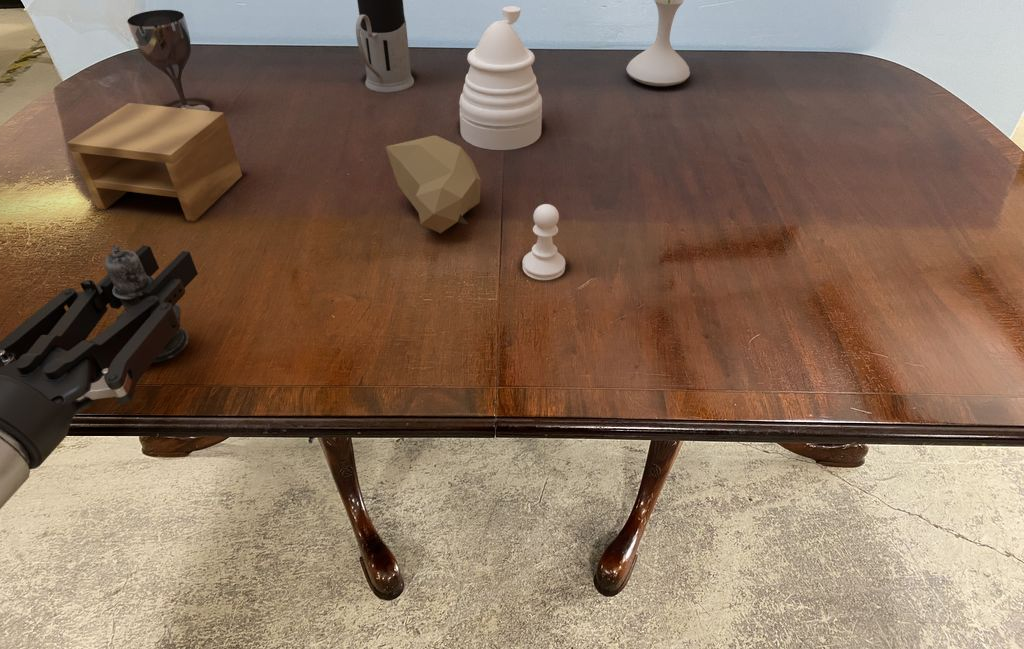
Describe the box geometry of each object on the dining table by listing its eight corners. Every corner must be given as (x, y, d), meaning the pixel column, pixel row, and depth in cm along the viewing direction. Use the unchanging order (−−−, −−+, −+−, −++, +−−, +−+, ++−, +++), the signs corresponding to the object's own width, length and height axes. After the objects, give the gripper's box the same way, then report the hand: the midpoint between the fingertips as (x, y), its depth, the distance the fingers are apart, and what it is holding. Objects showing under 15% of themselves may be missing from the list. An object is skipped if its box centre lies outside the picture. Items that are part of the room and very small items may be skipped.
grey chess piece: (135, 373, 64) (82, 273, 56) (123, 337, 67) (72, 239, 59) (198, 350, 66) (156, 251, 58) (183, 317, 70) (142, 219, 62)
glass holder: (421, 75, 123) (413, -13, 113) (392, 107, 112) (380, 13, 102) (376, 71, 124) (365, -17, 114) (344, 101, 114) (328, 8, 104)
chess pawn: (537, 254, 81) (540, 189, 75) (572, 269, 79) (578, 203, 73) (513, 275, 78) (514, 209, 72) (549, 291, 76) (553, 224, 70)
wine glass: (173, 102, 113) (141, 9, 103) (220, 103, 113) (192, 10, 103) (153, 123, 107) (117, 26, 97) (201, 124, 107) (170, 27, 97)
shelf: (99, 213, 87) (66, 142, 81) (154, 169, 96) (128, 102, 89) (196, 226, 85) (170, 154, 79) (243, 180, 94) (223, 112, 87)
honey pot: (509, 107, 113) (510, -8, 101) (557, 135, 105) (564, 14, 93) (445, 127, 107) (437, 8, 95) (491, 158, 99) (489, 32, 87)
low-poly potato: (418, 186, 94) (353, 179, 84) (456, 120, 89) (392, 105, 79) (480, 257, 88) (418, 258, 79) (525, 192, 83) (464, 184, 74)
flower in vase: (636, 64, 128) (656, -87, 111) (695, 74, 124) (724, -80, 107) (613, 88, 119) (631, -72, 102) (676, 100, 115) (704, -64, 99)
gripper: (-80, 455, 53) (111, 278, 70) (106, 494, 50) (257, 300, 68) (-141, 391, 48) (80, 217, 65) (63, 430, 45) (237, 238, 63)
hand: (170, 260), depth 66 cm, fingers closed on grey chess piece, 4 cm apart
